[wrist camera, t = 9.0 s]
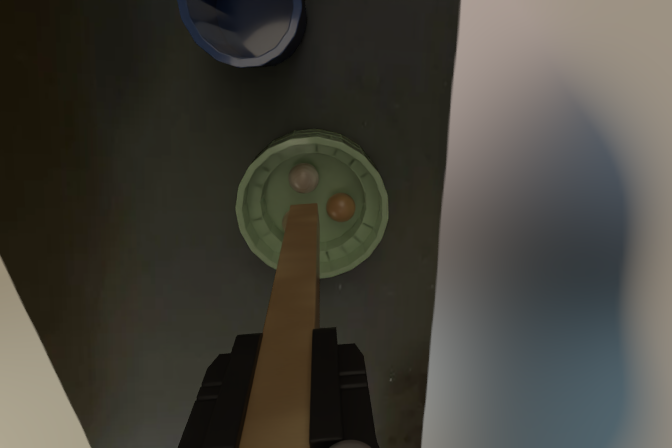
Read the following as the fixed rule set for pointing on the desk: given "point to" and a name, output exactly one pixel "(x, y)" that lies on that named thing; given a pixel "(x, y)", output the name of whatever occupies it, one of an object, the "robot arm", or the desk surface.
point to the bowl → (313, 198)
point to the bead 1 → (285, 220)
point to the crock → (246, 29)
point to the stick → (288, 341)
